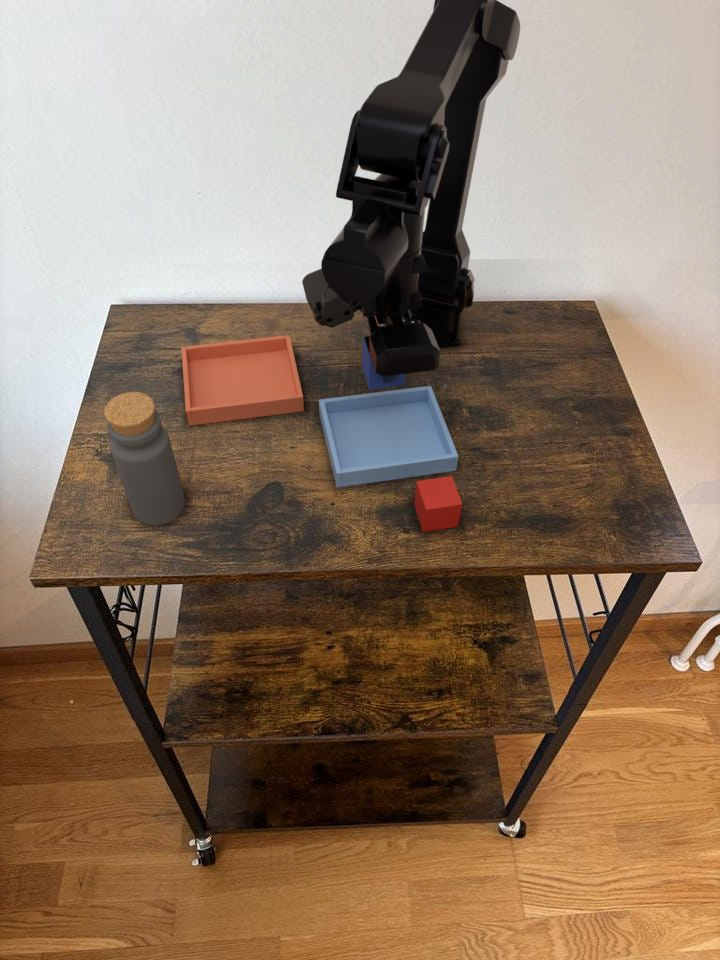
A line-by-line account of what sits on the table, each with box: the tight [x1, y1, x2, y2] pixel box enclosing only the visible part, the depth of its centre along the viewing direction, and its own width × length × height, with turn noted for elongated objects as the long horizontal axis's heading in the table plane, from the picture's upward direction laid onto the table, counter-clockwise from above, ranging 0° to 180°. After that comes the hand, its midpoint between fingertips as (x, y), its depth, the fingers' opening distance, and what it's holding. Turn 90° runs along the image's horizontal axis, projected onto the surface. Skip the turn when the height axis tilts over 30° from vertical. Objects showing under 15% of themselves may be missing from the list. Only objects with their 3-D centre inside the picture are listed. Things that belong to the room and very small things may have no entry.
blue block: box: [361, 337, 406, 390], centre depth 80 cm, size 4×4×4 cm
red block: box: [413, 475, 463, 533], centre depth 80 cm, size 4×4×4 cm
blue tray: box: [318, 385, 459, 488], centre depth 87 cm, size 14×12×2 cm
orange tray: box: [181, 334, 305, 427], centre depth 93 cm, size 14×12×2 cm
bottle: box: [103, 391, 186, 527], centre depth 76 cm, size 6×6×15 cm
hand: (384, 368), depth 81 cm, fingers closed on blue block, 4 cm apart
